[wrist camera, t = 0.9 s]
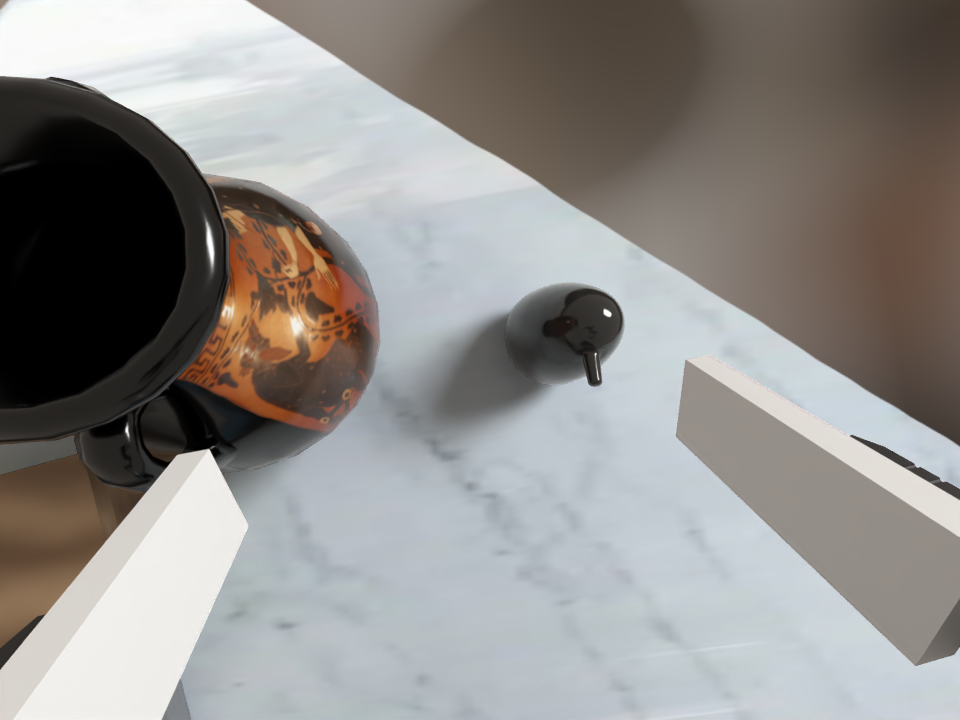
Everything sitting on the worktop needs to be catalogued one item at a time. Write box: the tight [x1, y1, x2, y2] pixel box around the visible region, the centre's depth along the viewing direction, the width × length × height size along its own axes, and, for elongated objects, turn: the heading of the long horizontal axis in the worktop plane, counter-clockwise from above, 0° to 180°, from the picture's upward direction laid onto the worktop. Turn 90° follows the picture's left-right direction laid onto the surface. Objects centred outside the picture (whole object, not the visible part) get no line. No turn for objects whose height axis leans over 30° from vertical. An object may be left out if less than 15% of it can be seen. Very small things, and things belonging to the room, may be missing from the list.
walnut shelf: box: [0, 454, 146, 648], centre depth 32 cm, size 12×18×8 cm, turn 106°
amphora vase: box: [0, 76, 380, 494], centre depth 27 cm, size 22×22×28 cm
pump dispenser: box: [505, 282, 625, 387], centre depth 38 cm, size 10×10×15 cm
